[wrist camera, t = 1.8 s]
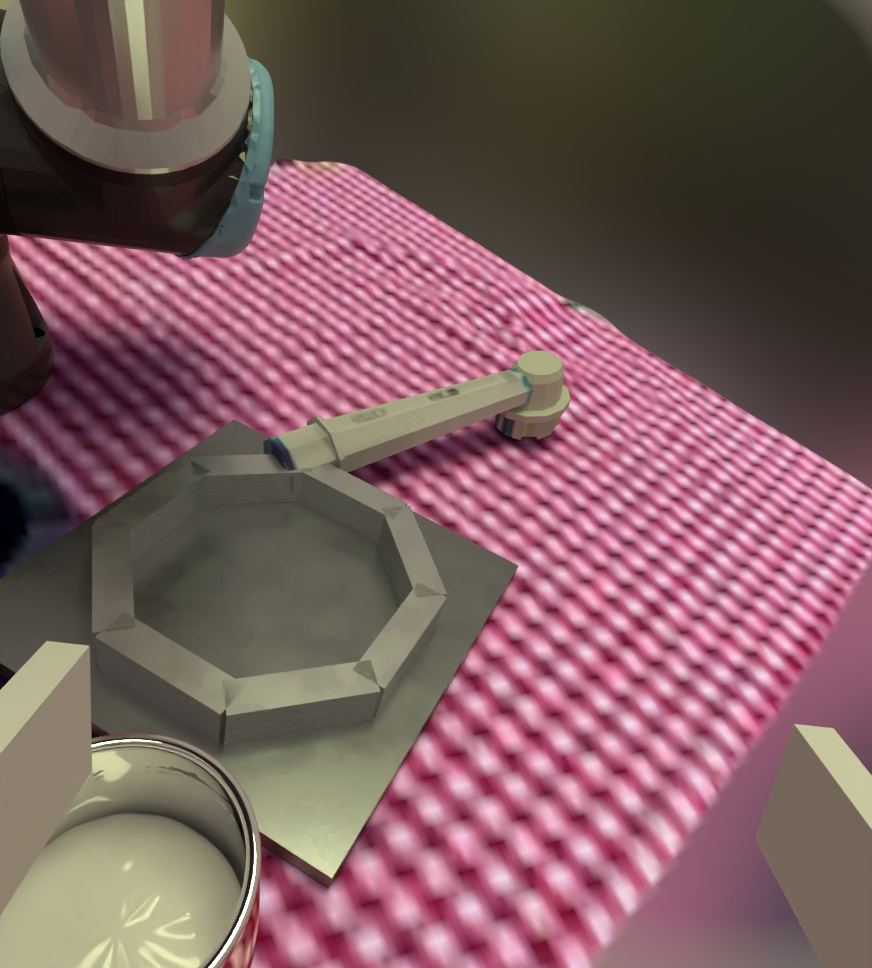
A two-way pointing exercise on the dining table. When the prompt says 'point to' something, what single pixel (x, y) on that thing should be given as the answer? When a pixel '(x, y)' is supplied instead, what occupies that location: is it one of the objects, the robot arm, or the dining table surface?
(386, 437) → the beige knobbed rod
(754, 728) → the dining table surface
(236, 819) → the chrome metal cup
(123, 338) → the dining table surface
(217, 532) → the collar
